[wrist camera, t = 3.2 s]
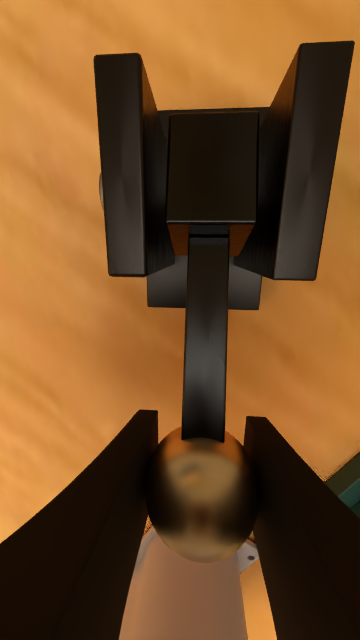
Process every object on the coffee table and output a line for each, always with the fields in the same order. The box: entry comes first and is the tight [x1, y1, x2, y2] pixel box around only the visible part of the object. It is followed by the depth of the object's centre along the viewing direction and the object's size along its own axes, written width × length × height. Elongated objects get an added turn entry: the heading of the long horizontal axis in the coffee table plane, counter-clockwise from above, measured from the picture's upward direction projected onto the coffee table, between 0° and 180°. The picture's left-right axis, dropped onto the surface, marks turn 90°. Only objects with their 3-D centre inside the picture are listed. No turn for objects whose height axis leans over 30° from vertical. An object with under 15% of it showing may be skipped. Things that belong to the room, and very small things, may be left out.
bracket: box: [94, 41, 355, 310], centre depth 9 cm, size 9×6×8 cm, turn 179°
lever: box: [145, 111, 260, 563], centre depth 7 cm, size 11×3×3 cm, turn 179°
